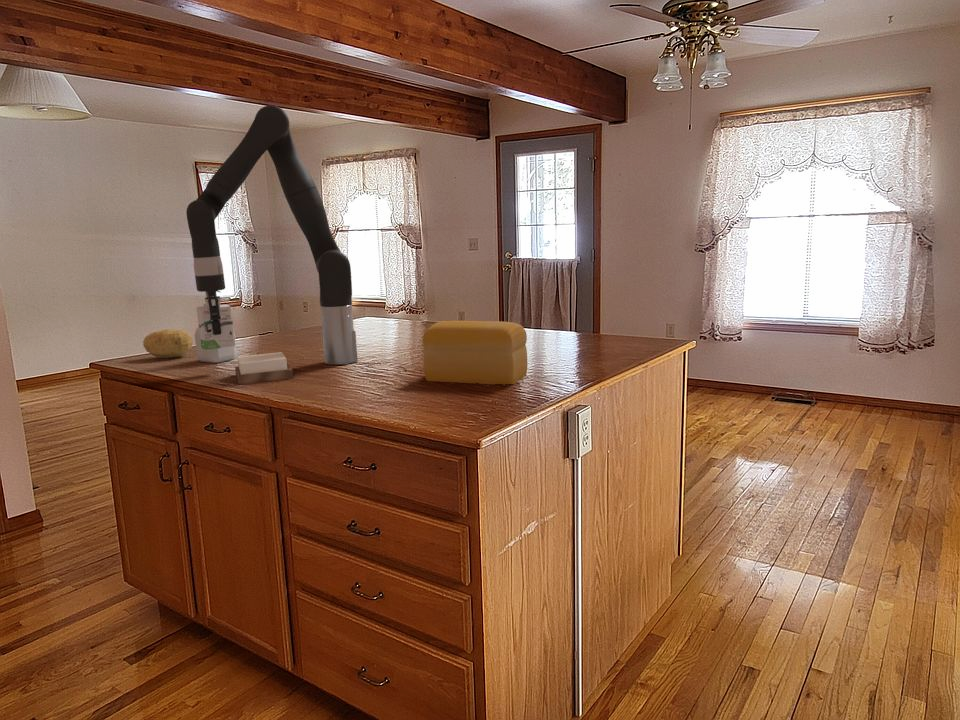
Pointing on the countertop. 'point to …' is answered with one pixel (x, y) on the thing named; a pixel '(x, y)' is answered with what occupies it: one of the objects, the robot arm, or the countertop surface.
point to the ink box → (207, 332)
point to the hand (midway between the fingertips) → (217, 332)
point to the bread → (475, 352)
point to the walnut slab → (264, 376)
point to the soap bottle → (213, 350)
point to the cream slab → (262, 363)
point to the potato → (168, 343)
